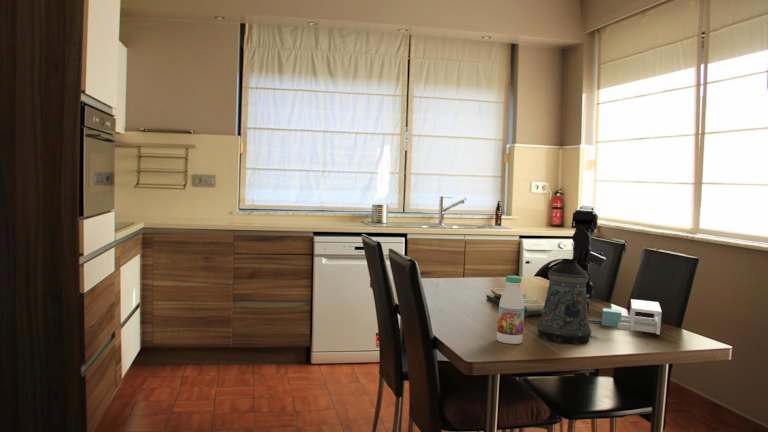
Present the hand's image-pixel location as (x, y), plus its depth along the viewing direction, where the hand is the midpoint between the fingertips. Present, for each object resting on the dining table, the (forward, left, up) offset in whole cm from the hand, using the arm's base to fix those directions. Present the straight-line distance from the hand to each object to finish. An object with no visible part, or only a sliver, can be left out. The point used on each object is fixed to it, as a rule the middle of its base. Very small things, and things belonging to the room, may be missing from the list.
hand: (578, 287), depth 228 cm
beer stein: (-3, -30, -12) cm, 33 cm away
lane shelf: (+16, -4, -12) cm, 21 cm away
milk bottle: (-17, -45, -12) cm, 50 cm away
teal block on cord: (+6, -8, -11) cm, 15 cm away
